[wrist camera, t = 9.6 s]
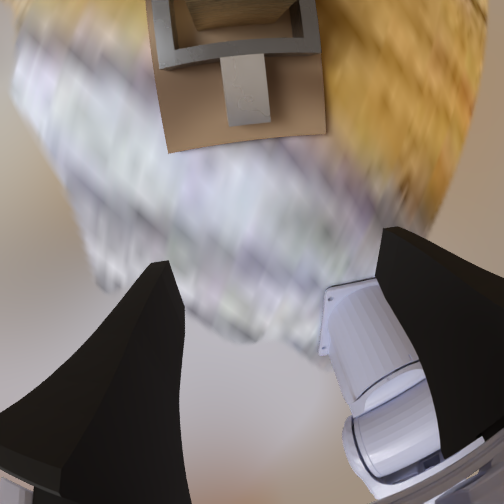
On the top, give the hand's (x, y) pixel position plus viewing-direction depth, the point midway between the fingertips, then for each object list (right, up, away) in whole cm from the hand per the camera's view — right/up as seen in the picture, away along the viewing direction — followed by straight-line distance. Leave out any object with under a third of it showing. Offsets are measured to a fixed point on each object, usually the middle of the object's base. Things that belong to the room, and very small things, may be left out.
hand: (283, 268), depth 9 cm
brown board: (-2, +15, +1) cm, 15 cm away
